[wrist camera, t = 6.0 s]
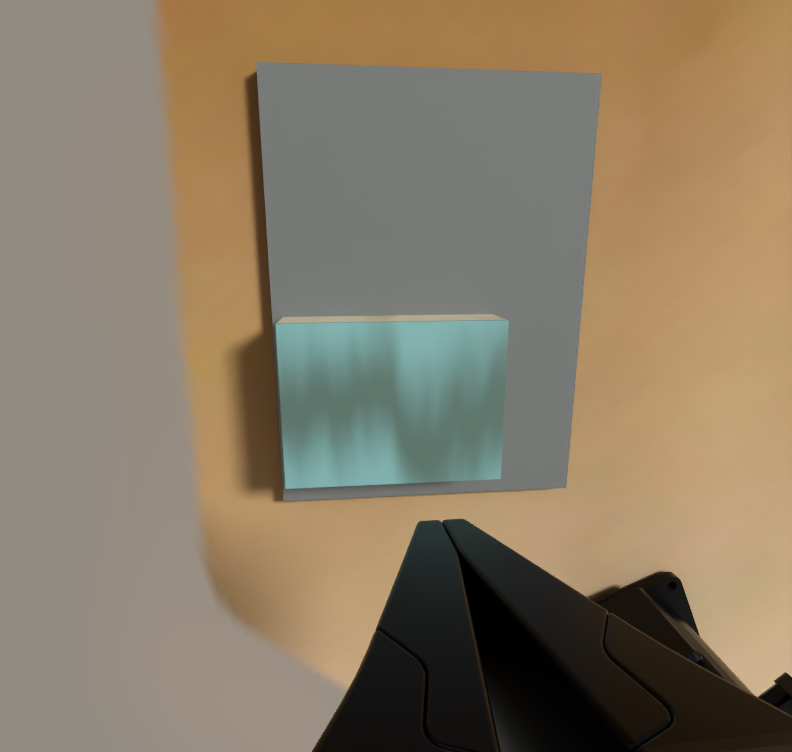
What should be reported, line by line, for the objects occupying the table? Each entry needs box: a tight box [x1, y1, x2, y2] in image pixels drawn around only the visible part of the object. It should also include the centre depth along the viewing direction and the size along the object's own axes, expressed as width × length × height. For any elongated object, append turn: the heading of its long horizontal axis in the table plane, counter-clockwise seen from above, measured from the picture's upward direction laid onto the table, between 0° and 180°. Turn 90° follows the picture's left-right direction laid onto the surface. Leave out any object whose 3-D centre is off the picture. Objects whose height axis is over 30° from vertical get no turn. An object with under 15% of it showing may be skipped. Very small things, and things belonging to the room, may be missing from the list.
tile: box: [275, 314, 509, 489], centre depth 18 cm, size 6×2×8 cm
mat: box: [256, 62, 602, 501], centre depth 19 cm, size 16×12×1 cm
